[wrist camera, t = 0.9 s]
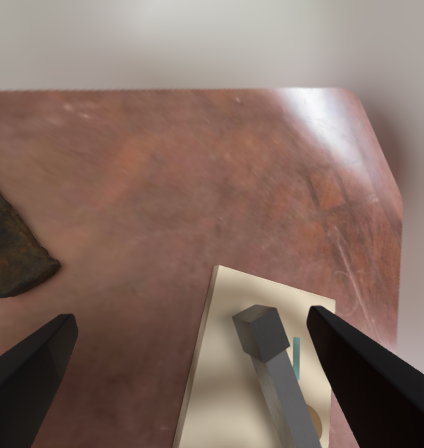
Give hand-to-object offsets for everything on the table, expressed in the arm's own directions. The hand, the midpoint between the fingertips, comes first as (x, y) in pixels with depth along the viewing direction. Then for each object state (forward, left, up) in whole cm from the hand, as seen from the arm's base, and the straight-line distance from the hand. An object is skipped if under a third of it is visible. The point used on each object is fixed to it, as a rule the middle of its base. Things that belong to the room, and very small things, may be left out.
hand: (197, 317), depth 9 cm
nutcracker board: (-7, -13, -14) cm, 21 cm away
